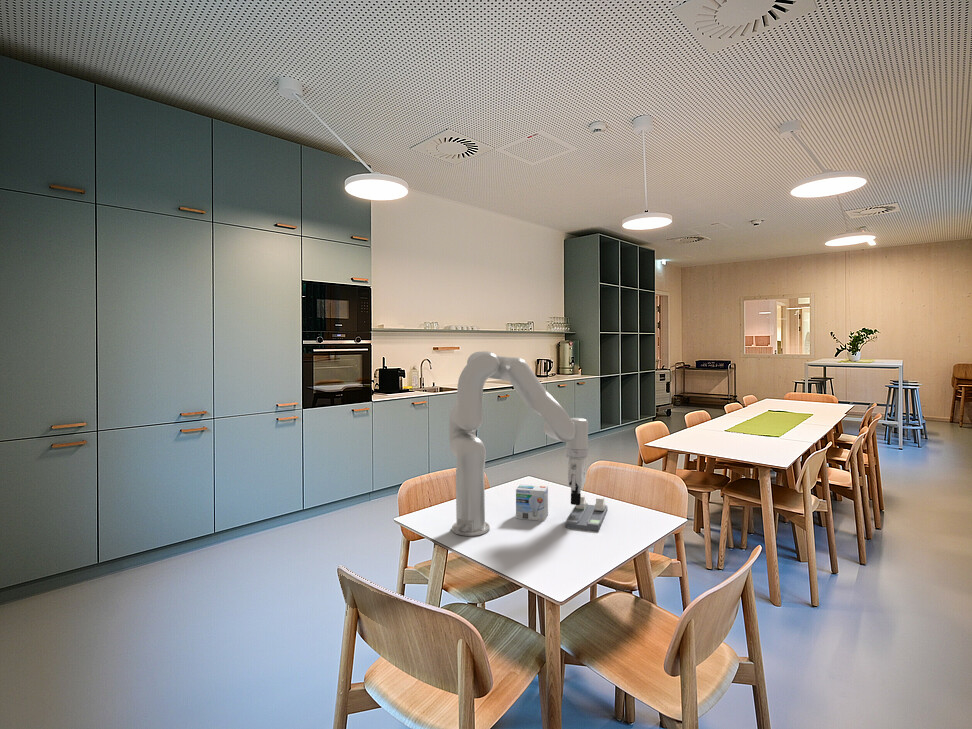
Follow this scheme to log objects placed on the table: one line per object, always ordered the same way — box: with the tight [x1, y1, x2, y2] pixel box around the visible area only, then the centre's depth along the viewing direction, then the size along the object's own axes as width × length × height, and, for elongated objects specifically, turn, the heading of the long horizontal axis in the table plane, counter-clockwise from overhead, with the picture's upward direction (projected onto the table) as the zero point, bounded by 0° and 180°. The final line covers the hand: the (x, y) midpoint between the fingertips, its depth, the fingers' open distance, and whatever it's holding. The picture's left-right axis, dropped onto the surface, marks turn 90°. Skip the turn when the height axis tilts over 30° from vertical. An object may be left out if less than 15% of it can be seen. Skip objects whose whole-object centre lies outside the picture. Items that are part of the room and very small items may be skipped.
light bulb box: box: [515, 484, 549, 522], centre depth 180 cm, size 11×7×11 cm, turn 73°
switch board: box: [565, 502, 609, 533], centre depth 177 cm, size 23×11×2 cm, turn 159°
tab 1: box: [576, 494, 587, 509], centre depth 184 cm, size 4×3×4 cm
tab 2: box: [594, 496, 606, 511], centre depth 182 cm, size 4×3×4 cm
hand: (575, 504), depth 179 cm, fingers closed
